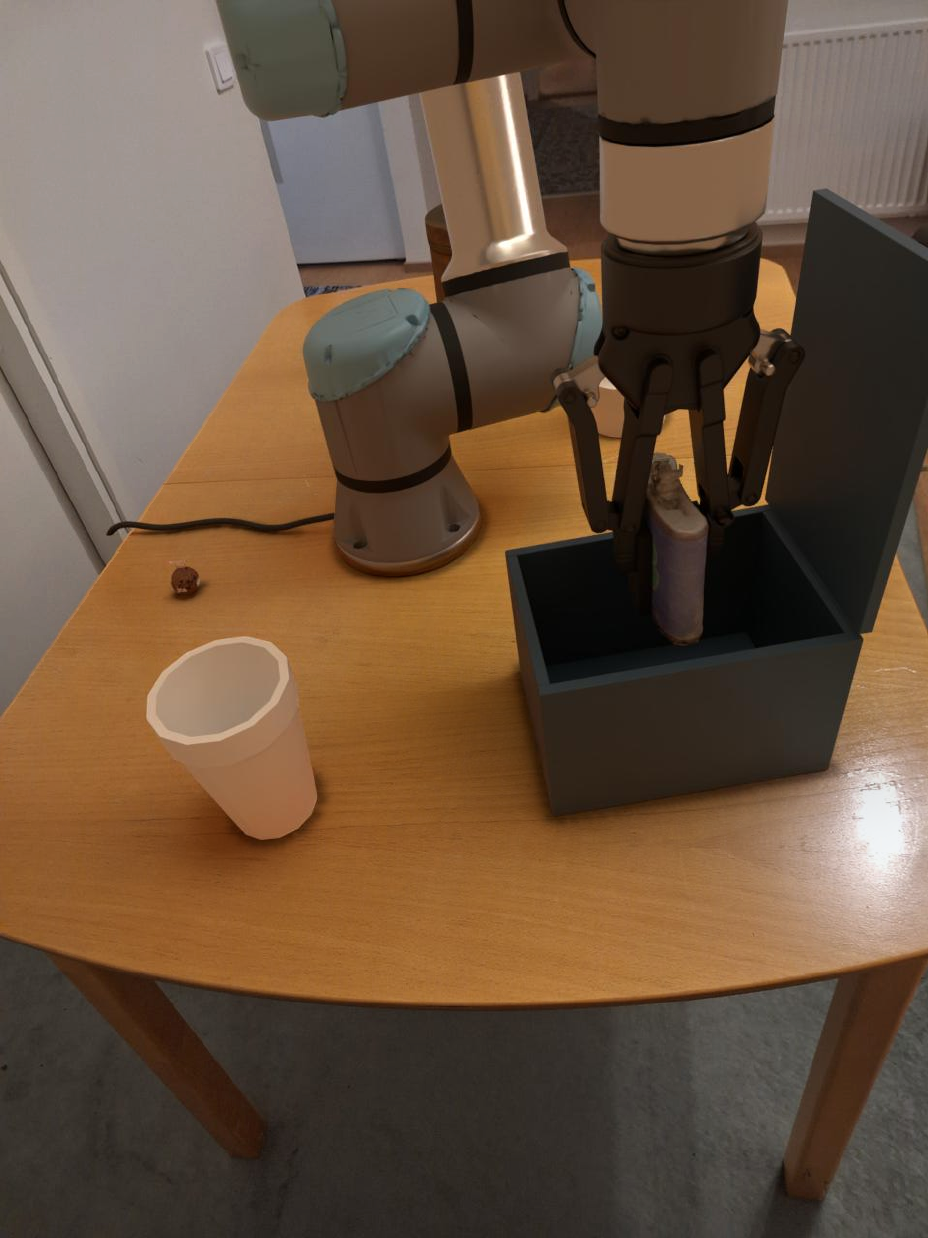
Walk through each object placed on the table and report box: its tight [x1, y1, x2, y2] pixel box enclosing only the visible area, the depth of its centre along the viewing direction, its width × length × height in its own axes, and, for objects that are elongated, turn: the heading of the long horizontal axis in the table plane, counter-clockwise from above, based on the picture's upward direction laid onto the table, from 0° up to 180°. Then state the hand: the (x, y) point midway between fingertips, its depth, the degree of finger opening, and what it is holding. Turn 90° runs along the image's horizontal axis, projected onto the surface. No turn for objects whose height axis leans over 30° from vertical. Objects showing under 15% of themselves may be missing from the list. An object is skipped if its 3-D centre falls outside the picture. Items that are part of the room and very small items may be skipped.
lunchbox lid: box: [764, 187, 928, 635], centre depth 46 cm, size 21×15×6 cm
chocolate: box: [168, 558, 201, 595], centre depth 81 cm, size 3×2×4 cm
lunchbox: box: [504, 503, 864, 817], centre depth 58 cm, size 20×15×13 cm
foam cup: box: [145, 635, 318, 841], centre depth 57 cm, size 10×9×13 cm
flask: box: [642, 452, 708, 646], centre depth 51 cm, size 9×3×11 cm, turn 5°
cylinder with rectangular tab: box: [591, 377, 666, 439], centre depth 91 cm, size 9×9×12 cm
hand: (665, 597), depth 54 cm, fingers closed on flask, 3 cm apart
